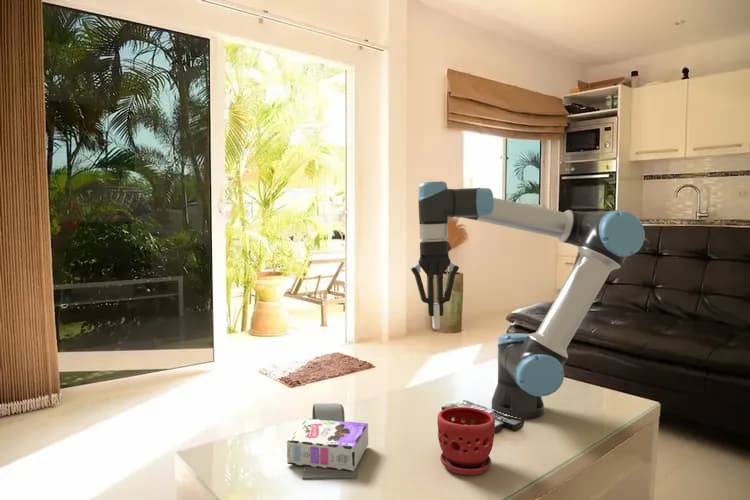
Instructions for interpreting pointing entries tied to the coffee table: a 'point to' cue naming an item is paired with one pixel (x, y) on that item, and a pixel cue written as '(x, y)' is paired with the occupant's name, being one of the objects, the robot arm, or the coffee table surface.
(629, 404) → the coffee table surface
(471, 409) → the plant pot
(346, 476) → the mat
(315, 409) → the ceramic mug
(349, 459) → the candy box
